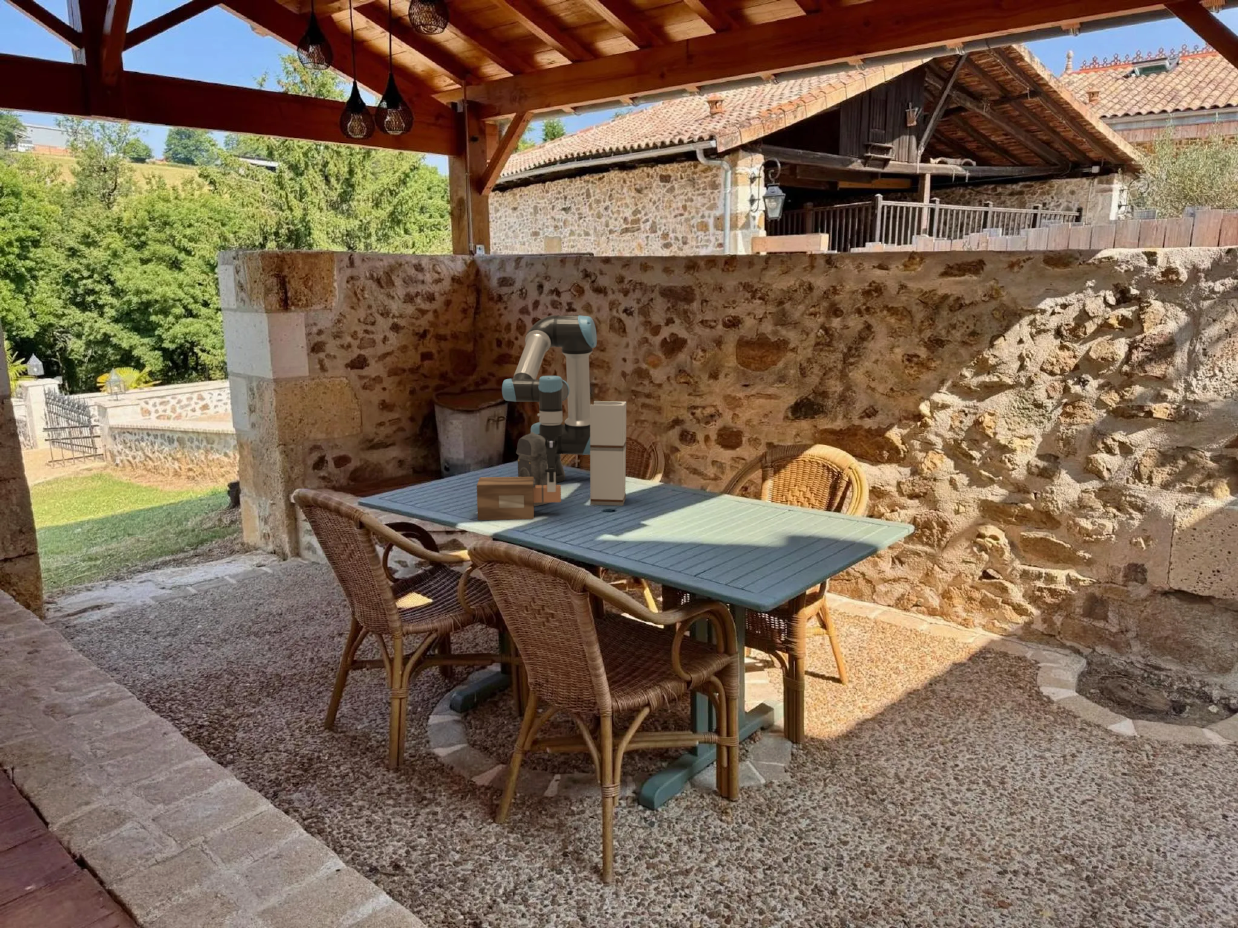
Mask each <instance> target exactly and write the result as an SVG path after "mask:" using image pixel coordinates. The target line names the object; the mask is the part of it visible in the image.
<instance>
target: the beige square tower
mask: <svg viewBox="0 0 1238 928" xmlns="http://www.w3.org/2000/svg"><path fill="white" fill-rule="evenodd" d="M626 450H627V401H610V400H609V401H606V400H605V401H603V400H602V401H601V400H594V401H593V404H590V455H589V459H590V460H589V461H590V462H589V463H590V464H589V470H590V473H589V478H590V479H589V482H590V489H589V491H590V492H589V493H590V501H589V503H590V504H589V505H590V506H592V505H593V506H620V507H621V506H624V504H625V501H626V497H627V495H626V494H627V493H626V482H627V481H626V467H627V466H626V464H627V463H626V462H627V461H626V457H627V456H626V454H627V453H626Z"/></svg>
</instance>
